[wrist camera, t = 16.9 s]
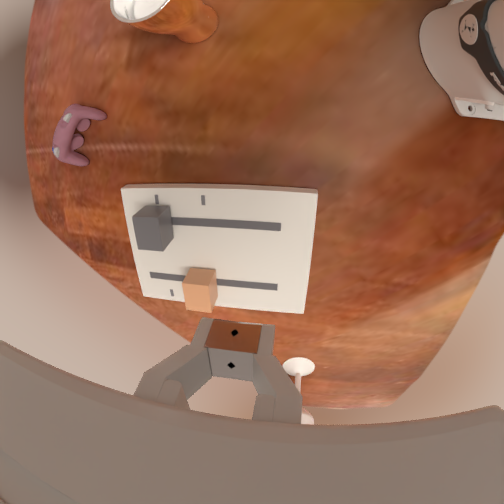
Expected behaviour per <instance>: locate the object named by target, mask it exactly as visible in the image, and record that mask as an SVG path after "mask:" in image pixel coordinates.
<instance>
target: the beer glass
mask: <svg viewBox="0 0 504 504" xmlns="http://www.w3.org/2000/svg"><path fill="white" fill-rule="evenodd" d="M110 7H111V11H112V13H113V15H114V16H115V17H116V18H117V19H118V20H120V21H122V22H125V23H127V24H129V25H132V26H134V27H136V28H138V29H141V30H144V31H147V32H151V33H157V34H172V35H176V37H177V38H179V39H180V40H182V41H184V42H187V43H197V42H201V41H204V40H206V39H207V38H209V37H210V36H211V35H212V34H213V33H214V32H215V30H216V28H217V25H218V16H217V13H216V11H215V10H214V9H213V8H211V7H210V6H208V5H205V4H203V2H202V0H110Z"/></svg>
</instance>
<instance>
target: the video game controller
mask: <svg viewBox="0 0 504 504" xmlns="http://www.w3.org/2000/svg"><path fill="white" fill-rule="evenodd" d="M106 118H107V115H106V114H105V113H104V112H103V111H101V110H99V109H96V108H92V107H87V106H81V105H79V104H72V105H70V106H69V107H68V108H67V109H66V110H65V111H64V114H63V116H62V117H61V119H60V121H59V122H58V125H57V127H56V129H55V133H54V137H53V148H52V150H53V153H54V155H55V157H56V158H57V159H58V160H60V161H62V162H65V163H69V164H73V165H77V166H86V165H88V164H89V160H88V159H87V158H86V157H85V156H83V155H81V154H79V153H77V152H75V151H74V150H75V149H77V148H79V147H81V146H82V145H83V142H84V139H83V137H82V136H81V134H78V133H77V134H74V132H75V129H76V128H77V130H79V131H85V130H87V129H88V127H89V126H90V121H89V119H93V120H104V119H106Z"/></svg>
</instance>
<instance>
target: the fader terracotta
mask: <svg viewBox="0 0 504 504" xmlns="http://www.w3.org/2000/svg"><path fill="white" fill-rule="evenodd" d="M182 288H183V293H184V299H185V305H186V310H193V311H201V312H209V313H212V311H213V308H214V305H215V303H216V300H217V297H218V292H217V280H216V270H208V269H197V268H190V270H189V271H188V273H187V275H186V277H185V278H184V280H183V282H182Z"/></svg>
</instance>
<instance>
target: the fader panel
mask: <svg viewBox="0 0 504 504" xmlns="http://www.w3.org/2000/svg"><path fill="white" fill-rule="evenodd" d="M121 193H122V199H123V205H124V211H125V217H126V222H127V227H128V232H129V237H130V242H131V246H132V251H133V255H134V260H135V264H136V268H137V272H138V276H139V280H140V284H141V288H142V292H143V296H146V297H153V298H160V299H167V300H174V301H182V302H185V299H184V293H183V288H182V282H183V280H184V278H185V277H186V275H187V273H188V271H189V270H190V268H197V269H208V270H216V280H217V292H218V297H217V300H216V303H215V305H214V306H223V307H232V308H242V309H252V310H263V311H275V312H287V313H301V314H304V307H305V301H306V294H307V286H308V279H309V271H310V263H311V255H312V247H313V238H314V229H315V219H316V209H317V198H318V192H317V189H309V188H295V187H279V186H261V185H236V184H127V185H126V186H124V187H122V188H121ZM144 206H170V211H171V220H172V227H173V235H174V238H173V240H172V241H171V242H170V244H169V245H168V246H167V247H166V249H165V250H164V251H163V252H162V251H150V250H138V246H137V242H136V237H135V231H134V226H133V221H132V216H133V215H134V214H136V213H137V212H138V211H139V210H140V209H142V208H143V207H144Z"/></svg>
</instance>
